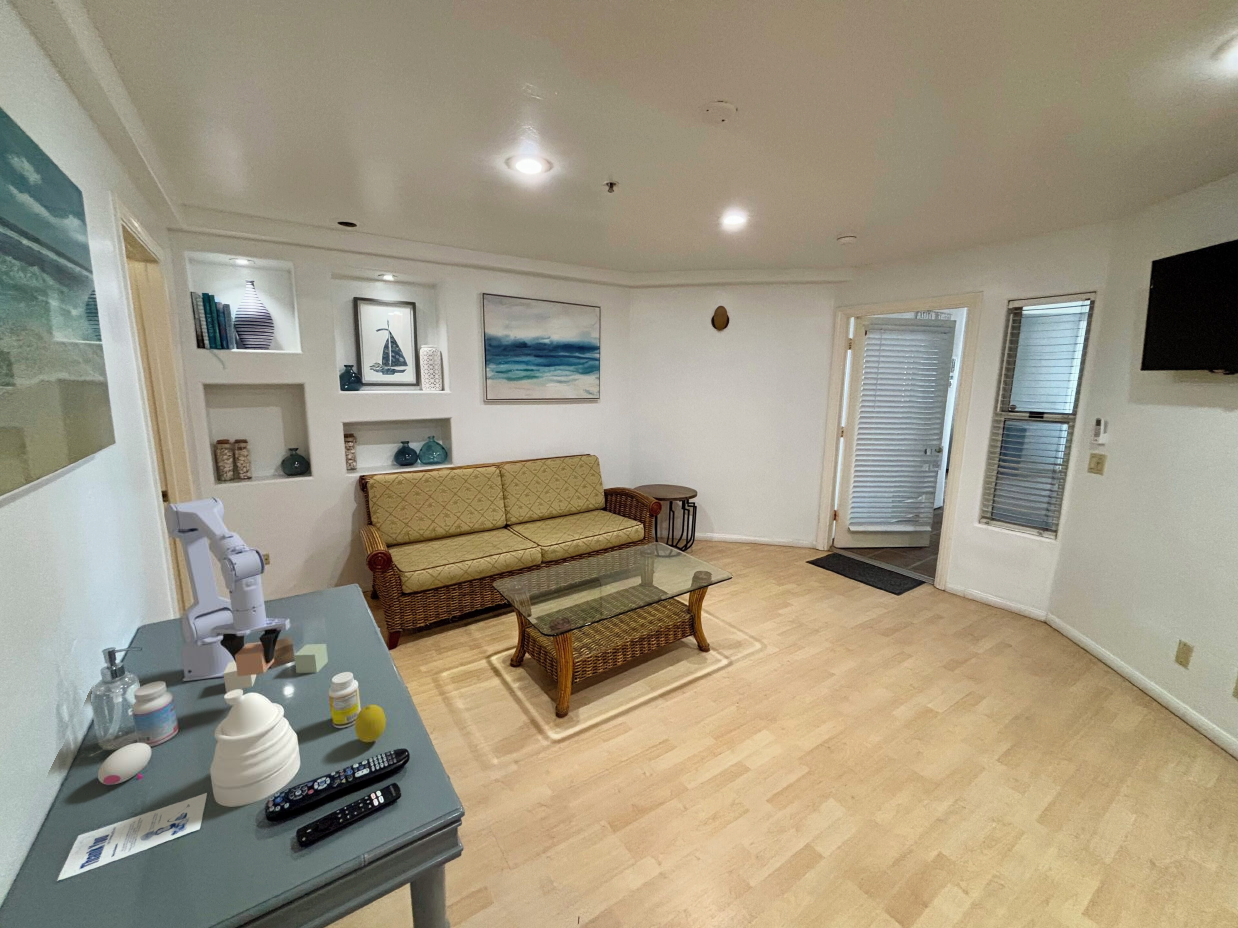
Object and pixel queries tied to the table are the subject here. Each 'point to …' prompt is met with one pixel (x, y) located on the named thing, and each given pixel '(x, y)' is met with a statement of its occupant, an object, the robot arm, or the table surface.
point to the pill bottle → (154, 714)
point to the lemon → (370, 723)
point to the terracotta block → (251, 660)
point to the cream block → (236, 678)
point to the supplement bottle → (344, 700)
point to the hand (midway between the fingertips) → (255, 662)
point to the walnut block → (283, 652)
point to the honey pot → (252, 751)
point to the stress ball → (124, 763)
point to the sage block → (311, 658)
